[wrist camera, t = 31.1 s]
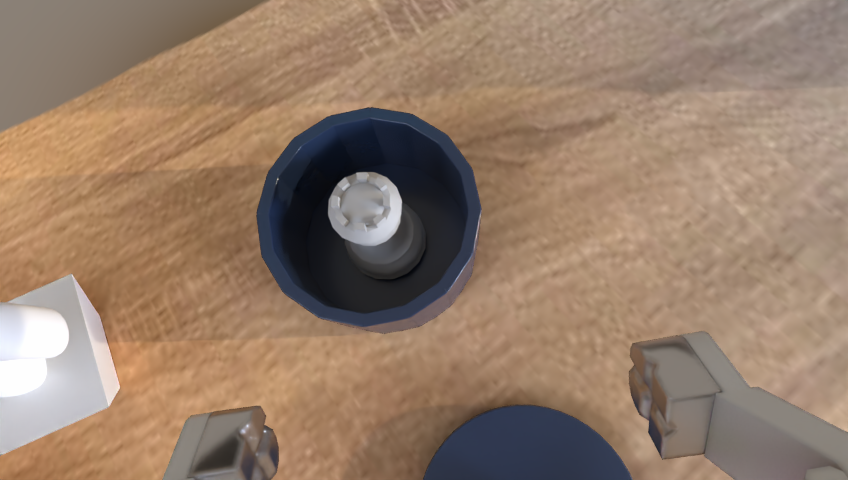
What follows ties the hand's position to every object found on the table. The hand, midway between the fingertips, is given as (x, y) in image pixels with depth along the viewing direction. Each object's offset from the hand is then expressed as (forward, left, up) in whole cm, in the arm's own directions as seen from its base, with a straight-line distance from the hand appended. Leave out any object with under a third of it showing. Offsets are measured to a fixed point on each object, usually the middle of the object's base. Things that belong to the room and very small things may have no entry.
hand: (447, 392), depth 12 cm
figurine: (+18, -12, -18) cm, 28 cm away
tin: (-1, -8, -17) cm, 19 cm away
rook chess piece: (-1, -8, -17) cm, 19 cm away
